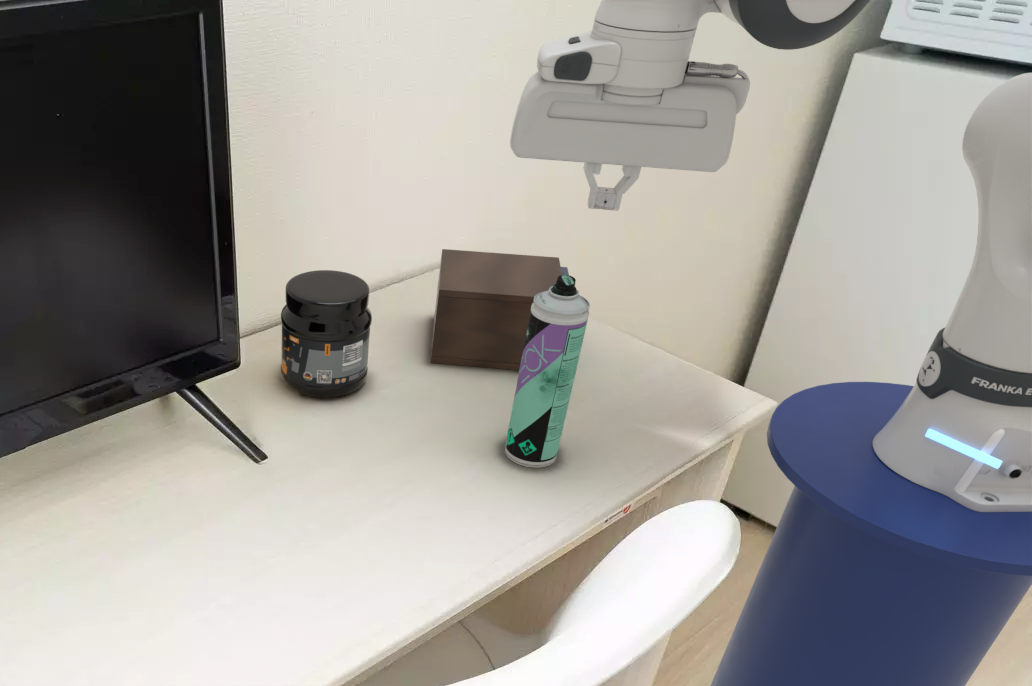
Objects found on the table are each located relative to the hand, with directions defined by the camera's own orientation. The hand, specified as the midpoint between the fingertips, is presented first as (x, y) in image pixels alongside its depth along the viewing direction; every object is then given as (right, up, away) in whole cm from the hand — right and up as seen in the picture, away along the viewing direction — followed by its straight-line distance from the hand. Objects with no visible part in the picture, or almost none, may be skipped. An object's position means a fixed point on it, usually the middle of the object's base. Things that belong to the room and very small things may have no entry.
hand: (602, 207), depth 93 cm
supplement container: (-27, -15, +19) cm, 37 cm away
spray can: (-5, -24, +7) cm, 26 cm away
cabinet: (-5, -9, +27) cm, 29 cm away
